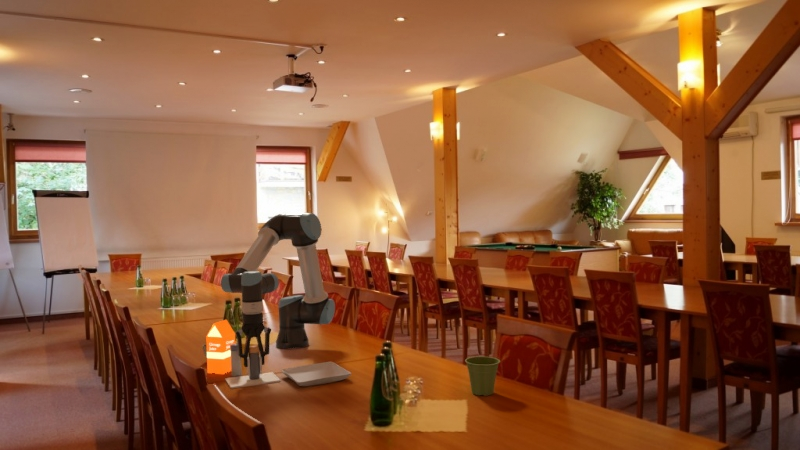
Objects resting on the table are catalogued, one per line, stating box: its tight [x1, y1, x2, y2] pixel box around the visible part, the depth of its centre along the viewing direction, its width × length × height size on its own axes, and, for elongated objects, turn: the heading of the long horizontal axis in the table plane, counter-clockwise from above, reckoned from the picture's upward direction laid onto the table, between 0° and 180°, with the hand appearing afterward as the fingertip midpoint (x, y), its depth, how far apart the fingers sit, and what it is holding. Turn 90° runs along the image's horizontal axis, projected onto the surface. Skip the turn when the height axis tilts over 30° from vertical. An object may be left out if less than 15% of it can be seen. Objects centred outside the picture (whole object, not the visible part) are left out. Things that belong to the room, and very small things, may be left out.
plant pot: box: [464, 355, 501, 397], centre depth 213 cm, size 12×12×11 cm
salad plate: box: [280, 361, 352, 387], centre depth 236 cm, size 21×21×3 cm
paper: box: [224, 371, 281, 390], centre depth 235 cm, size 18×13×1 cm
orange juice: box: [205, 319, 236, 375], centre depth 251 cm, size 8×9×20 cm
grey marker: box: [230, 343, 243, 377], centre depth 243 cm, size 4×4×12 cm
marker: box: [248, 344, 260, 380], centre depth 236 cm, size 4×4×12 cm
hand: (254, 374), depth 236 cm, fingers closed on marker, 4 cm apart
